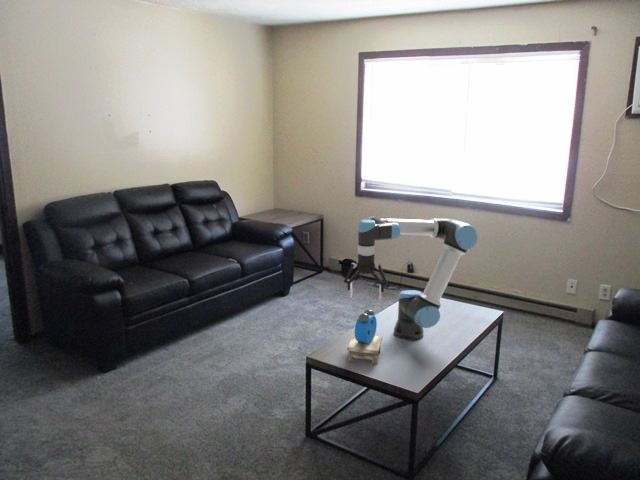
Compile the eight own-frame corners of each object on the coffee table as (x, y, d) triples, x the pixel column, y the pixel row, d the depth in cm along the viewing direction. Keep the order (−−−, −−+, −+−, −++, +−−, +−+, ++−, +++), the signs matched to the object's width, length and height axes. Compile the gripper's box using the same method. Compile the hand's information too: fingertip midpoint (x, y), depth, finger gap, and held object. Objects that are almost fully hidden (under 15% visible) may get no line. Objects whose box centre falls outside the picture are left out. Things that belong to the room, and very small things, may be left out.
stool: (381, 351, 258) (382, 336, 256) (377, 366, 242) (378, 350, 241) (352, 347, 261) (353, 333, 259) (346, 362, 246) (347, 347, 244)
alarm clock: (364, 335, 257) (365, 306, 253) (376, 338, 254) (378, 308, 251) (353, 345, 245) (354, 315, 242) (366, 348, 243) (367, 317, 239)
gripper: (394, 252, 246) (392, 296, 251) (340, 250, 251) (340, 293, 256) (393, 257, 239) (392, 302, 244) (337, 254, 243) (337, 298, 248)
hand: (365, 297), depth 250 cm, fingers open, 13 cm apart
